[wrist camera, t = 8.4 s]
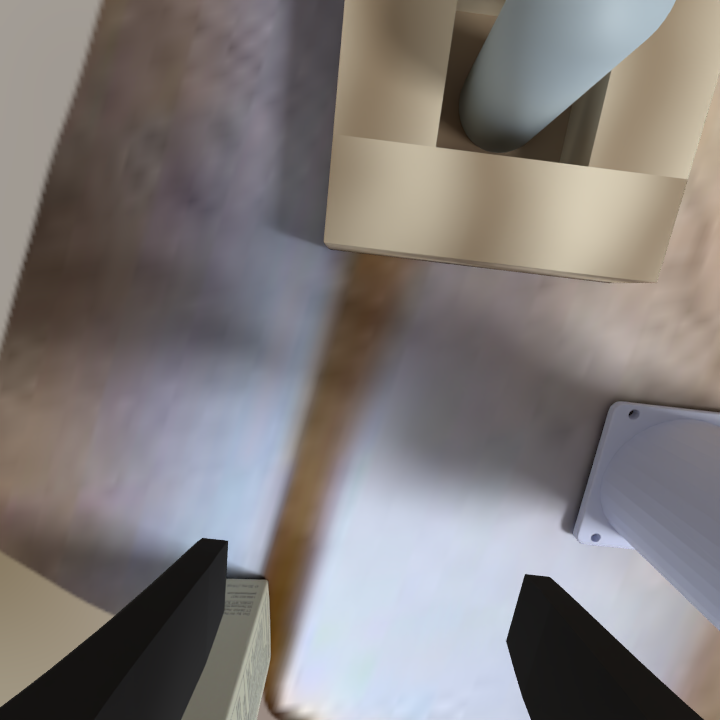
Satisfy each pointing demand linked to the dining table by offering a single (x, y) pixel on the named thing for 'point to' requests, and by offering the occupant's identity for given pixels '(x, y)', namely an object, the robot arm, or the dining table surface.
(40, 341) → the dining table surface
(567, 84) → the peg
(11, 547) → the dining table surface
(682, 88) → the socket block
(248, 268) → the dining table surface
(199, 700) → the skincare box
